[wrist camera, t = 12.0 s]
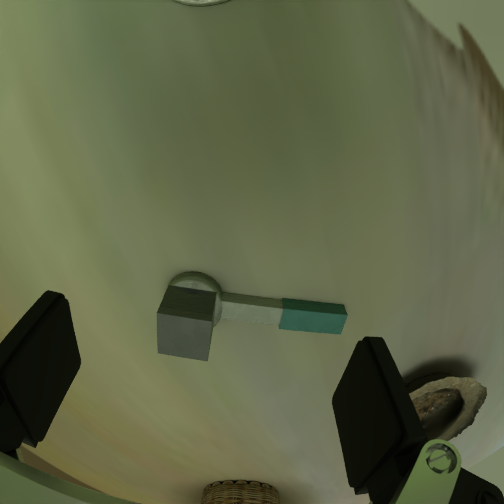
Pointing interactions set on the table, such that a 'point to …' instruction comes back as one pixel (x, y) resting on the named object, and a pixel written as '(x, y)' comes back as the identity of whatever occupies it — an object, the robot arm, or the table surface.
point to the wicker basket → (240, 493)
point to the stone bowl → (446, 403)
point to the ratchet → (268, 308)
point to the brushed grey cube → (186, 322)
